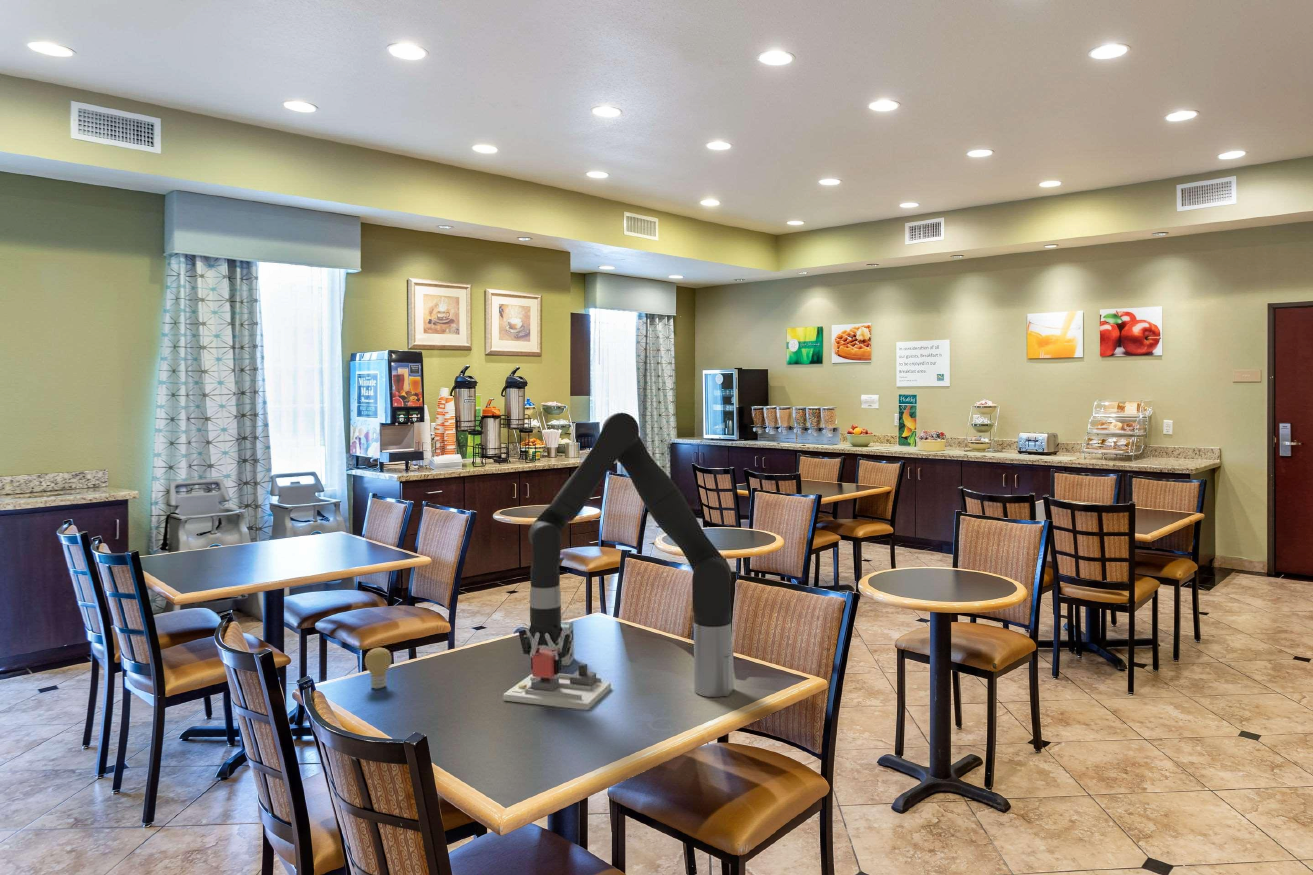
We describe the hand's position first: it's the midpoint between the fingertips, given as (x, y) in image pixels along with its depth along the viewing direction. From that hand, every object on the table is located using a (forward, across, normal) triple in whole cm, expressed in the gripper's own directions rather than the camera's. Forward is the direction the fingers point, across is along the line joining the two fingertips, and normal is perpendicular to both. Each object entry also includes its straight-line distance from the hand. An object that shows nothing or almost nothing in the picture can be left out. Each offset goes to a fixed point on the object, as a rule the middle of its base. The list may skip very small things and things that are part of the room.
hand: (546, 672), depth 196 cm
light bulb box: (+6, +10, -25) cm, 28 cm away
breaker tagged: (+4, 0, 0) cm, 4 cm away
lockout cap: (0, 0, 0) cm, 0 cm away
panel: (+6, -2, -2) cm, 7 cm away
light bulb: (+6, +44, +6) cm, 45 cm away
